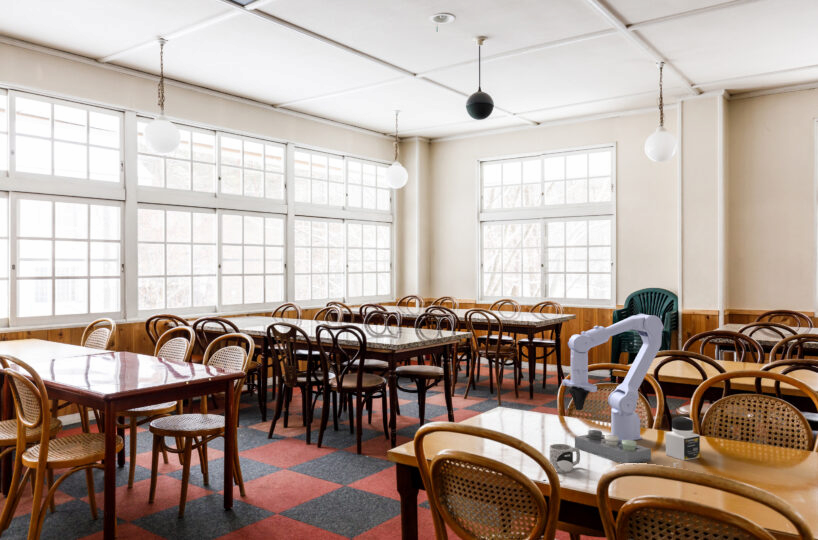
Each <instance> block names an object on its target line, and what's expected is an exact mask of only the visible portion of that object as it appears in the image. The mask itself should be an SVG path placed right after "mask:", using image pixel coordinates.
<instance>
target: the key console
mask: <svg viewBox="0 0 818 540" xmlns="http://www.w3.org/2000/svg"><path fill="white" fill-rule="evenodd" d="M605 435H606V434H602V436H601V439H599V440H593V439H590V438H589V435H588V434H584V435H579V436H578V435H577V436H574V448H578V449H579V450H581V451H584V452H586V453H590V454H593V455H595V456H597V457H602V458H605V459H607V460H610V461H613V462H616V463H620V462H621V463H620V464H622V463H637V464H641V463H645V462H650V461H652V449H651V448H649V447H645V446H642V445H639V444H636V447H635V450H633V451H628V450H625V449H623V446H622V440H619V441H618V444H617V445H609V444H606V441H605Z"/></svg>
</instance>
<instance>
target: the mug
mask: <svg viewBox="0 0 818 540" xmlns="http://www.w3.org/2000/svg"><path fill="white" fill-rule="evenodd" d="M574 452H576V453H575V455H576V458H575V460H574ZM580 460H581V452H580V449H578V448H575V447H574V446H572V445H571V444H565V443H552V444H550V445H549V463H550V462H551V463H552V464H553V466H554V468H555V469H556V471H557V473H556V474H569V473H570V474H571V473H572V472H574V467H575V466H576V465H579V464H580Z"/></svg>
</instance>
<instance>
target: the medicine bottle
mask: <svg viewBox="0 0 818 540" xmlns="http://www.w3.org/2000/svg"><path fill="white" fill-rule="evenodd" d="M700 442H701V437H700V434H698V433H694V420H693V419H691V418H690V417H686V416H674V417H673V418H672V419H671V431H667V432H666V433H665V455H666V456H669V457H672V458H675V459H678V460H680V461H684V462H685V461H689V460H694V459H699V458H700V456H701V452H700V451H701V449H700V448H701V446H700V445H701V443H700Z"/></svg>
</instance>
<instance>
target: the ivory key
mask: <svg viewBox="0 0 818 540" xmlns="http://www.w3.org/2000/svg"><path fill="white" fill-rule="evenodd" d="M604 435H605V441H606V444H609V445H617V444H618V441H619V437H618V436H616V435H611V434H604Z"/></svg>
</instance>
